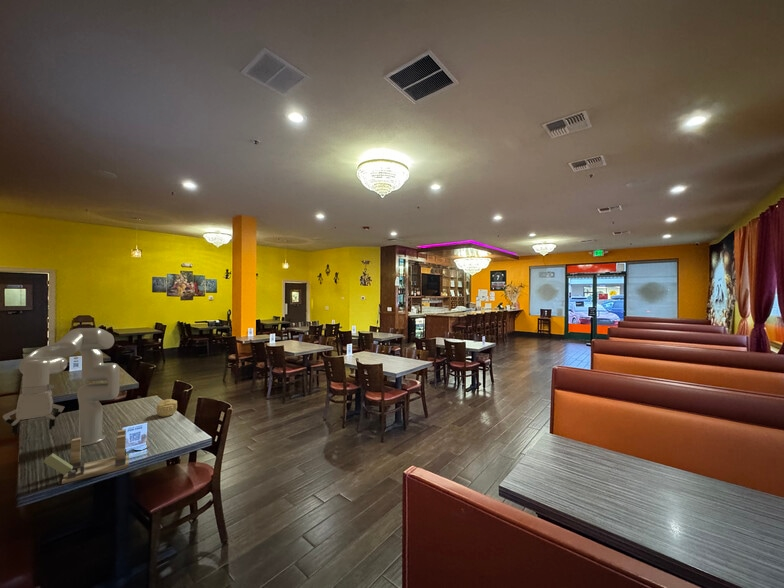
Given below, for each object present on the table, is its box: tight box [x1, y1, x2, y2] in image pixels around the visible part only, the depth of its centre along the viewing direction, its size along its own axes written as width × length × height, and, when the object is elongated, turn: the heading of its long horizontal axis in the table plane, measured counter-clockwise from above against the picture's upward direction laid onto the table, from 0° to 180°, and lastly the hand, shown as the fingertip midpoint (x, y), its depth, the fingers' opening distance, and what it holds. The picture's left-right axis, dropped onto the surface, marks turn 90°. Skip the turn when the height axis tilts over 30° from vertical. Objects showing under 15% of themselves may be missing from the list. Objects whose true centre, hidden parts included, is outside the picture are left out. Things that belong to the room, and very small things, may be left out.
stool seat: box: [61, 428, 130, 485], centre depth 149 cm, size 14×22×14 cm, turn 129°
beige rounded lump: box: [156, 398, 178, 418], centre depth 218 cm, size 11×12×11 cm
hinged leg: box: [43, 452, 76, 476], centre depth 139 cm, size 4×3×13 cm
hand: (34, 431), depth 134 cm, fingers open, 9 cm apart
